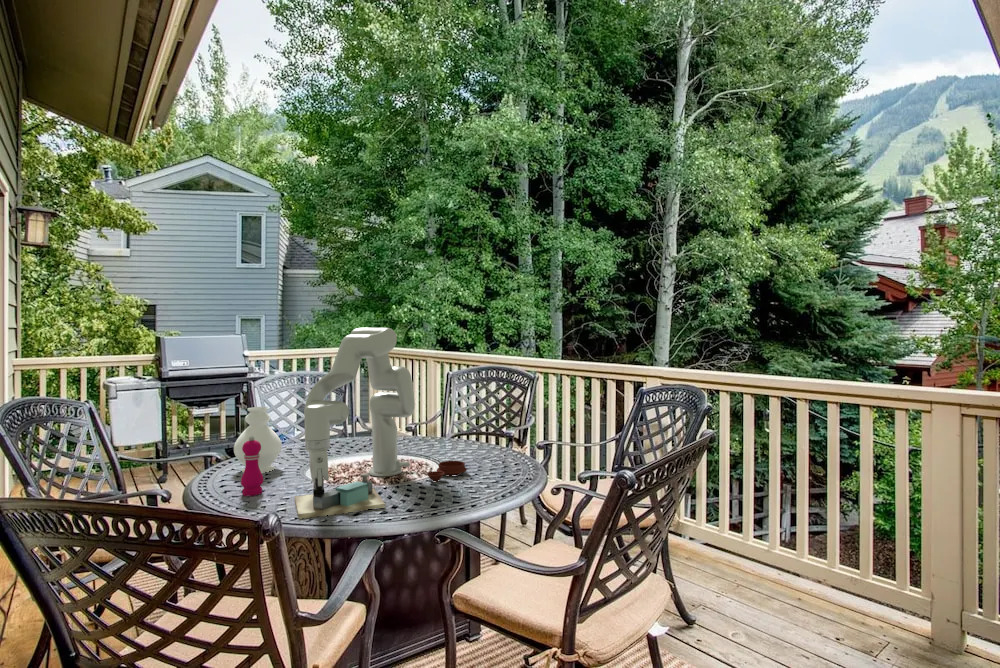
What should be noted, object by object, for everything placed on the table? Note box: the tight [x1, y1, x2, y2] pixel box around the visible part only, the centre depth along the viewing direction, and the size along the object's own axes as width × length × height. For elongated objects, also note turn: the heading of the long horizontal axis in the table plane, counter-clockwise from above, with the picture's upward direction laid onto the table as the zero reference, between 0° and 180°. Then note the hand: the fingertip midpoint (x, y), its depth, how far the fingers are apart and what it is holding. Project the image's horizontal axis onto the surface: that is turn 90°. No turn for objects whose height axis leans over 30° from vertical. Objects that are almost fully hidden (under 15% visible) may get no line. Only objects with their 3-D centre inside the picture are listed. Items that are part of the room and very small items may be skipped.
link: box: [313, 480, 374, 510], centre depth 191 cm, size 22×5×4 cm, turn 148°
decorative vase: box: [233, 406, 283, 474], centre depth 238 cm, size 18×18×25 cm
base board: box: [294, 473, 386, 520], centre depth 192 cm, size 26×20×8 cm
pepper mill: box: [240, 436, 264, 497], centre depth 205 cm, size 7×7×20 cm
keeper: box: [335, 480, 368, 506], centre depth 190 cm, size 9×5×5 cm, turn 147°
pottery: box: [426, 460, 468, 481], centre depth 226 cm, size 12×20×4 cm, turn 152°
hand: (318, 501), depth 188 cm, fingers closed
